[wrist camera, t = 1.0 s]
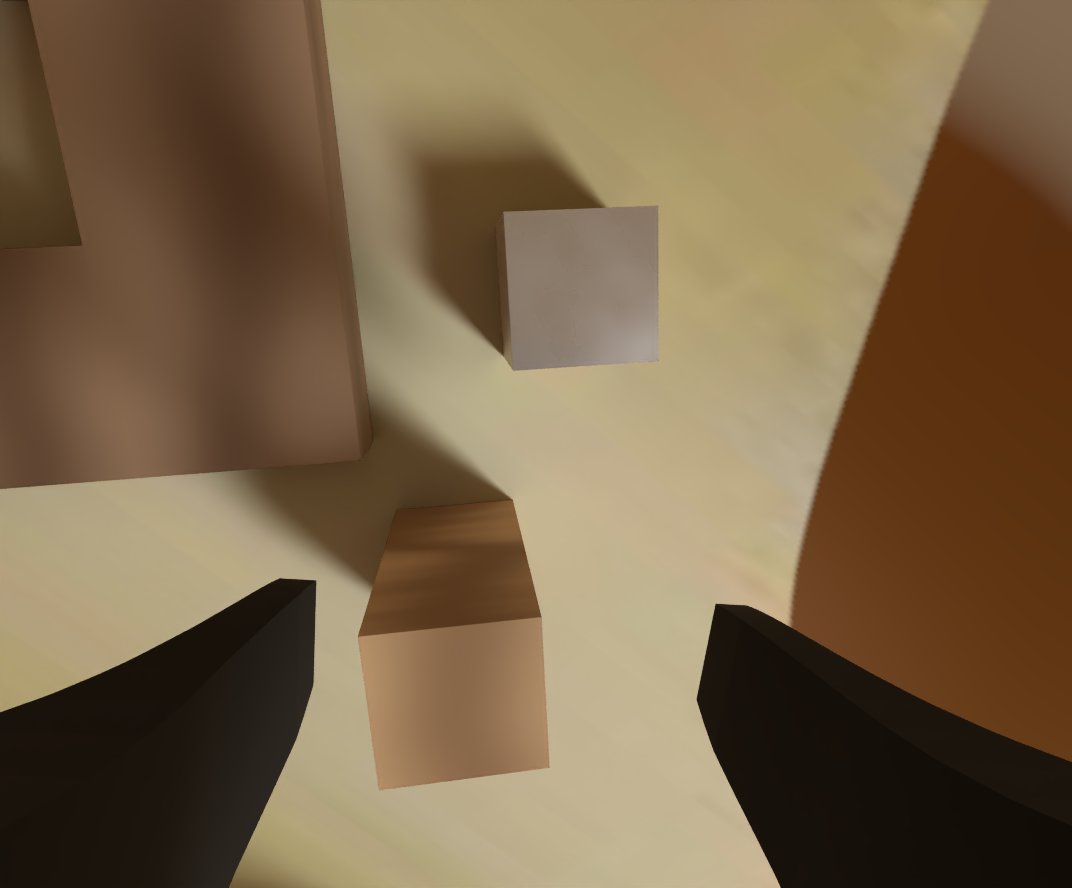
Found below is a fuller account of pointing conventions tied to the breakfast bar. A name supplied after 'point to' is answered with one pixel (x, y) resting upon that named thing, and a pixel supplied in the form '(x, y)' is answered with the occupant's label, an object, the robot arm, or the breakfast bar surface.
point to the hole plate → (185, 252)
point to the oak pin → (454, 649)
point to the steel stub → (578, 286)
